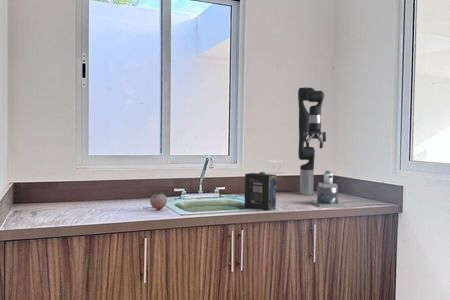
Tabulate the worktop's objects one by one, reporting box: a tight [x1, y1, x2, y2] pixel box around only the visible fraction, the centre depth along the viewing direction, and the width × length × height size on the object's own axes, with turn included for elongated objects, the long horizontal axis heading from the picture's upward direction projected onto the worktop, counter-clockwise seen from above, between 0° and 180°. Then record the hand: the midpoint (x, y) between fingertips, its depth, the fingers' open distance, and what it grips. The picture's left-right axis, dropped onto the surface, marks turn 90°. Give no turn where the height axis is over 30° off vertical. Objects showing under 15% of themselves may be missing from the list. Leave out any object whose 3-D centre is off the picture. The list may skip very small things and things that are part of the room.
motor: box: [309, 182, 347, 208], centre depth 226 cm, size 16×16×12 cm
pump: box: [323, 170, 334, 184], centre depth 225 cm, size 7×5×10 cm
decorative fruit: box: [149, 191, 168, 211], centre depth 202 cm, size 9×8×10 cm
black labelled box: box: [242, 171, 278, 211], centre depth 211 cm, size 8×18×20 cm, turn 53°
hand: (314, 148), depth 239 cm, fingers open, 8 cm apart
